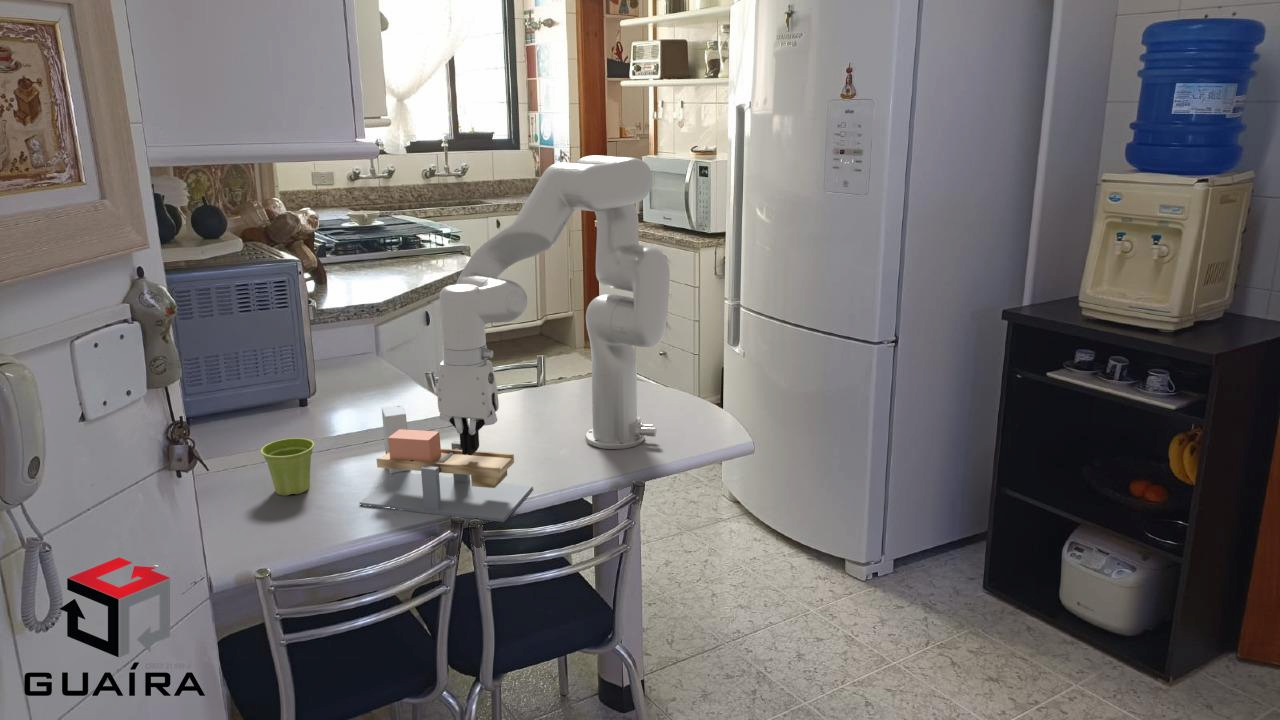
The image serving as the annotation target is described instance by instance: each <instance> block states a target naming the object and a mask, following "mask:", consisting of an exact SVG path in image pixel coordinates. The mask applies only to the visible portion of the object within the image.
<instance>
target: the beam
mask: <svg viewBox="0 0 1280 720" xmlns="http://www.w3.org/2000/svg"><path fill="white" fill-rule="evenodd" d="M375 460H376V466H377V468H379V469H380V468H381V469H389V468H390V469H402V470H409V471H415V472H417V471H418V472H421V468H422V467H423V466H432V467H439V474H440V473H443V474H465V475H470V480H471V481H472V486H475V487H487V488H495V487H496V486H497V485H498V484H499V483H502V481H504V480H505V479H506V477H507V476H508V470H509V469H510V468H511V466H513V464H514V463H515V455H514V453H507V452H506V453H504V452H492V451H491V452H490V451H478V450H477V451H476V452H475V453H473V454H472V455H468V454H466V455H463V454H462V450H461V449H460V448H455V449H452V448H441V455H440V456H439V457H438V458H437V459H435V460H434V461H433V462H425V461H414V460H399V459H390V453H387V454H386V453H385V455H383V456H382V457H377V458H376V459H375Z"/></svg>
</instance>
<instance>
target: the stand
mask: <svg viewBox="0 0 1280 720" xmlns="http://www.w3.org/2000/svg"><path fill="white" fill-rule="evenodd" d="M450 444H451V449H455V448H460V449H461V450H462V448H461V447H460V440H459V441H457V440H453V441H452V442H451V443H450ZM420 473H421V474H419V473H410V472H404V471H402V472H395V474H394V475H392V476H391V477H390V478H389V479H387V480H386V481H384V482H383V483H382V484H381V485H380V486H378V487H377V488H376V489H374V490H373V491H372V492H371V493H369V494H368V495H367V496H366V497H364V498H363V499H361V501H359V505H360V504H361V505H371V506H379V507H390V508H395V509H402V510H401V511H404V510H409V511H408V512H413V511H415V512H416V513H421V512H423V514H430V513H431V514H432V515H440V516H441V515H442V516H447V517H449V516H451V517H456V516H461V517H460V518H467V519H472V520H473V519H474V520H475V518H478V519H477V520H484V521H492V522H498V523H499V522H501V523H504V522H505V521H506V520H507V519H508V518H509V517H510V515H512V513H513V512H514V511H515V510H516V509H517V507H519V505H520V504H521V503H522V502H523V501H524V500H525V498H526V497H527V496H528V495H529V494H530V493H531V492H532V490H533V489H534V488H533V485H525V484H517V483H516V484H515V483H506V482H500V483H499V484H498V485H497V486H496V487H495V488H487V487H475V486H472V481H471V475H465V474H453V475H452V476H453V477H448V476H440V473H439V467H432V466H423V467H422V468H421V471H420ZM361 505H360V506H361ZM395 509H394V510H395ZM415 512H414V513H415Z"/></svg>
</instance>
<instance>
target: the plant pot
mask: <svg viewBox="0 0 1280 720" xmlns="http://www.w3.org/2000/svg"><path fill="white" fill-rule="evenodd" d="M314 447H315V442H314V441H313V440H312V439H308V438H301V437H291V438H284V439H283V438H282V439H279V440H274V441H272V442H269V443H266V444H265V445H264V446H263V447H261V449H260V454H261V455H262V456H263V458H264V460H265V461H266V463H267V466H268V470H269V473H270V477H271V480H272V483H273V487H274V492H275V493H276V494H277V495H279V496H284V497H285V496H290V495H292V494H293V495H294V494H295V495H300V494H302V493H304V492H306V491H308V490H309V489H310V486H311V465H312V464H311V462H312V455H313V449H314Z"/></svg>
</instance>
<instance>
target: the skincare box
mask: <svg viewBox="0 0 1280 720" xmlns="http://www.w3.org/2000/svg"><path fill="white" fill-rule="evenodd" d="M381 415H382V416H381V417H382V427H383V437H384V438H383V439H384V448H385V449H384V451H385V455H386V454H387V453H389V444H388V437H390V436H391V435H392V434H394V433H395V432H396V431H398V430H399V429H403V430H408V422H407V414H406V411H405V408H404V406H403V405H402V404H399V405H389V406H382V407H381ZM388 471H389V473H390V474H394V473H395V474H396V473H397V472H408V471H410V470H402V469H390V468H388Z"/></svg>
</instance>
